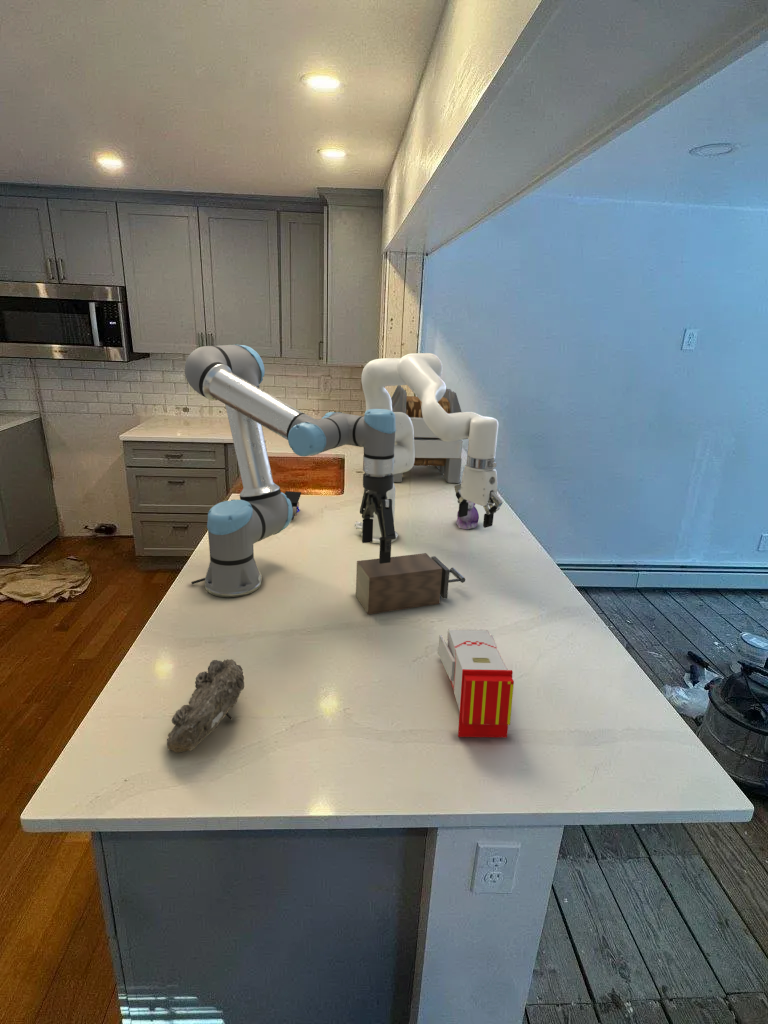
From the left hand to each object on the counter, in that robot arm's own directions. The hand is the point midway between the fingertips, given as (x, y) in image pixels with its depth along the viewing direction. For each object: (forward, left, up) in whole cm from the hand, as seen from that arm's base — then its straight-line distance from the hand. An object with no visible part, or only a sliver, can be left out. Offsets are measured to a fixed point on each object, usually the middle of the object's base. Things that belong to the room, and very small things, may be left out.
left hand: (375, 552), depth 147 cm
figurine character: (-39, +61, -15) cm, 74 cm away
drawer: (+12, +6, -14) cm, 19 cm away
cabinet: (+6, +3, -15) cm, 17 cm away
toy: (+25, -34, -15) cm, 44 cm away
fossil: (-25, -49, -15) cm, 57 cm away
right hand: (+26, +18, +4) cm, 32 cm away
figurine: (+27, +65, -15) cm, 72 cm away
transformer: (+6, +132, -15) cm, 133 cm away
